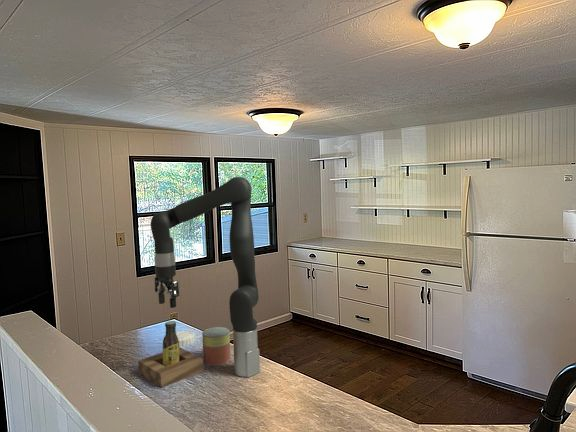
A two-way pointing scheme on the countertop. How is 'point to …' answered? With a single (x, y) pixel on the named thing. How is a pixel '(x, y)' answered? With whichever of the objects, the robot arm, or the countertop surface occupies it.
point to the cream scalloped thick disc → (185, 338)
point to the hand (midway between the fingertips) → (167, 305)
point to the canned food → (216, 346)
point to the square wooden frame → (170, 368)
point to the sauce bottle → (170, 344)
